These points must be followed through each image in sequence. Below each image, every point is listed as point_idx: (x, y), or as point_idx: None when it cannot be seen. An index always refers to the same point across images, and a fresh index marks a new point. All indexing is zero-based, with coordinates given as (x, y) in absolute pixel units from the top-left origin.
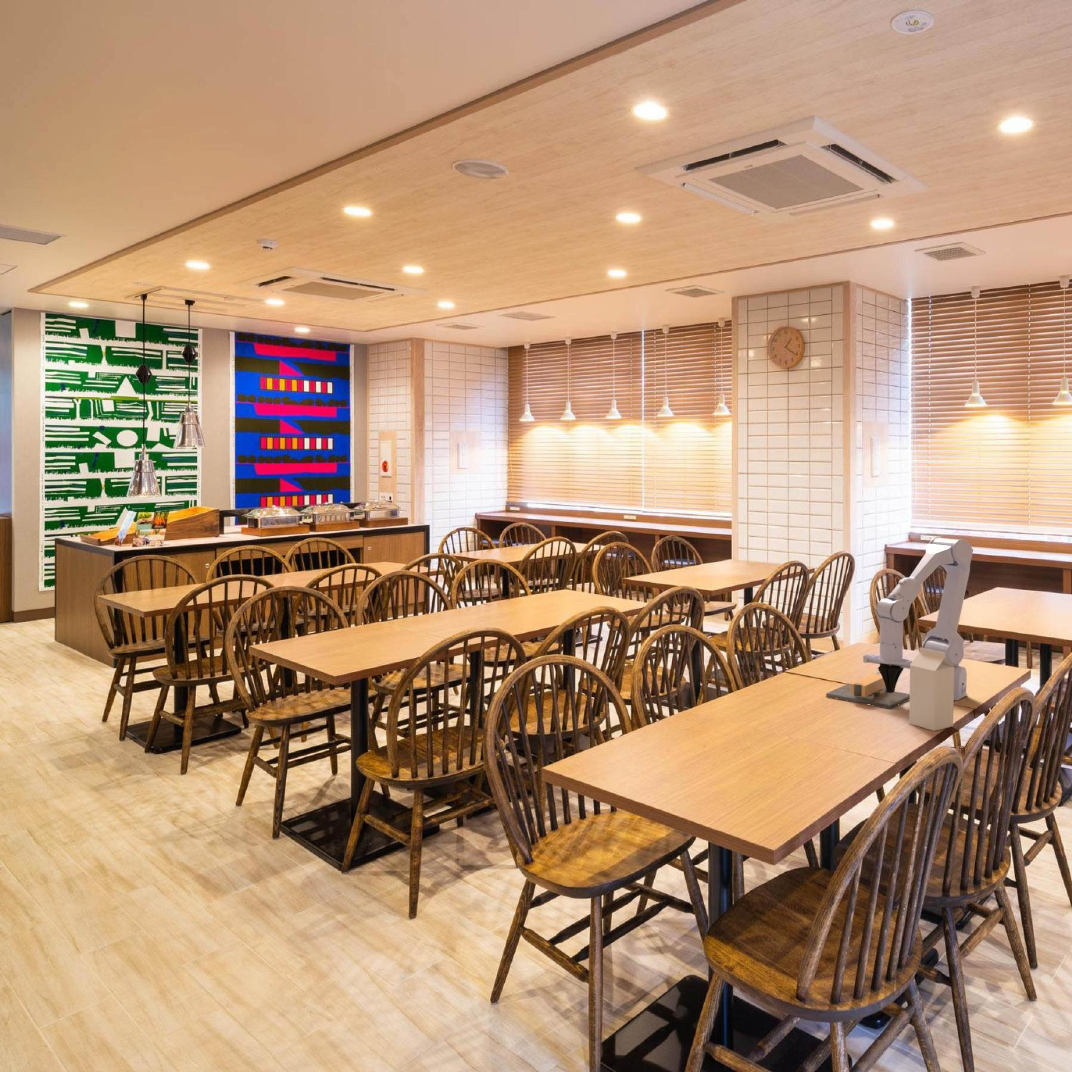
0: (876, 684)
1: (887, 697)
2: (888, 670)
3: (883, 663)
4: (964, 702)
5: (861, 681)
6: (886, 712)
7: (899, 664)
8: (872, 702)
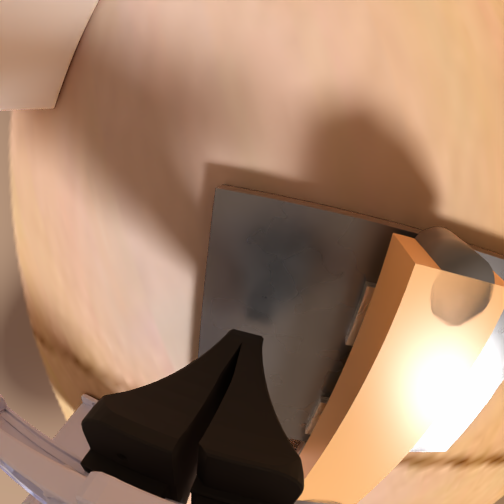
0: (336, 412)
1: (273, 345)
2: (168, 430)
3: (170, 502)
4: (70, 384)
5: (436, 379)
6: (226, 99)
7: (32, 451)
8: (336, 212)
